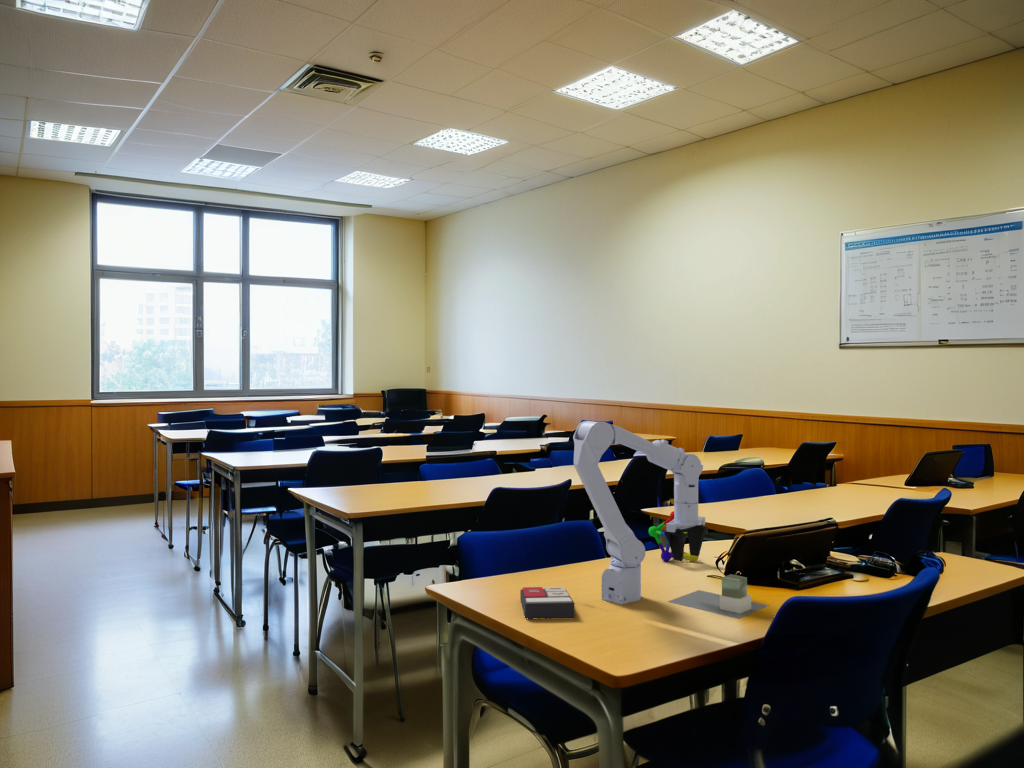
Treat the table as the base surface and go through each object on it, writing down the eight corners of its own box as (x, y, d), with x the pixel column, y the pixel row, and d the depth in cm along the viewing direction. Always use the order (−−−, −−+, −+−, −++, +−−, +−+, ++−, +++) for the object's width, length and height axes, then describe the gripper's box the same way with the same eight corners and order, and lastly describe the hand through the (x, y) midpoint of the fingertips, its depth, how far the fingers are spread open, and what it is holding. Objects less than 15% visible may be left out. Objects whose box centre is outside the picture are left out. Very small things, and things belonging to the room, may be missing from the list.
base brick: (740, 613, 157) (740, 599, 157) (719, 608, 160) (719, 595, 160) (751, 608, 160) (751, 595, 160) (730, 604, 164) (730, 591, 164)
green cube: (738, 598, 157) (738, 580, 158) (721, 595, 160) (721, 577, 160) (746, 595, 160) (746, 577, 160) (730, 591, 163) (730, 574, 163)
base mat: (739, 623, 153) (738, 618, 153) (667, 605, 166) (667, 601, 166) (768, 609, 163) (768, 605, 163) (698, 594, 176) (698, 590, 176)
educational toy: (642, 563, 213) (639, 512, 215) (671, 557, 221) (667, 508, 222) (683, 567, 201) (679, 514, 202) (712, 561, 209) (708, 510, 210)
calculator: (565, 585, 172) (574, 599, 157) (565, 603, 171) (574, 619, 156) (520, 586, 171) (525, 600, 156) (520, 604, 171) (525, 620, 156)
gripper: (684, 507, 166) (684, 565, 166) (716, 500, 176) (716, 555, 176) (658, 503, 171) (659, 560, 171) (691, 497, 181) (691, 551, 181)
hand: (686, 557), depth 174 cm, fingers open, 7 cm apart
